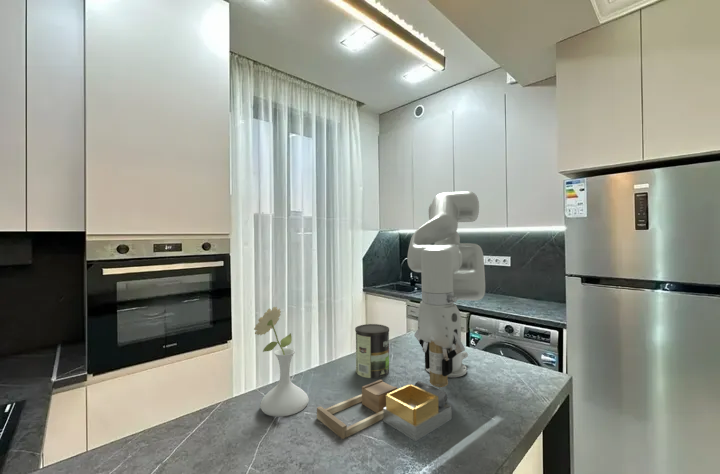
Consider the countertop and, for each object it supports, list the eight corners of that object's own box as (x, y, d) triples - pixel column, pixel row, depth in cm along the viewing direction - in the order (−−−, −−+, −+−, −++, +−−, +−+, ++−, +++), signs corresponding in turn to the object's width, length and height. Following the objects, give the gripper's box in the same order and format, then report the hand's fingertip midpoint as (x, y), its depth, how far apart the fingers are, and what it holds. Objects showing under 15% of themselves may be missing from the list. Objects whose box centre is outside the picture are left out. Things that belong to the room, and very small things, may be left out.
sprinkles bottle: (447, 379, 80) (447, 327, 79) (448, 389, 75) (447, 333, 75) (429, 378, 81) (428, 326, 80) (428, 387, 76) (427, 332, 76)
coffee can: (391, 369, 99) (390, 324, 99) (387, 383, 89) (387, 333, 89) (359, 366, 101) (359, 322, 101) (352, 380, 91) (351, 331, 91)
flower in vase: (292, 392, 84) (292, 298, 84) (318, 409, 75) (317, 304, 76) (244, 411, 75) (245, 306, 75) (268, 432, 66) (268, 313, 67)
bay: (378, 397, 81) (378, 383, 81) (406, 412, 74) (405, 397, 74) (316, 423, 69) (316, 407, 69) (342, 445, 62) (342, 427, 62)
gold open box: (419, 407, 76) (419, 377, 76) (451, 424, 69) (451, 391, 69) (383, 426, 68) (383, 393, 68) (415, 447, 61) (415, 410, 61)
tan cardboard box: (380, 396, 79) (380, 379, 79) (397, 405, 75) (397, 387, 75) (361, 404, 75) (361, 386, 75) (378, 414, 71) (378, 395, 71)
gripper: (477, 301, 73) (477, 378, 74) (420, 290, 86) (421, 356, 87) (458, 307, 68) (459, 389, 69) (401, 295, 81) (402, 364, 82)
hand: (438, 369), depth 78 cm, fingers closed on sprinkles bottle, 4 cm apart
